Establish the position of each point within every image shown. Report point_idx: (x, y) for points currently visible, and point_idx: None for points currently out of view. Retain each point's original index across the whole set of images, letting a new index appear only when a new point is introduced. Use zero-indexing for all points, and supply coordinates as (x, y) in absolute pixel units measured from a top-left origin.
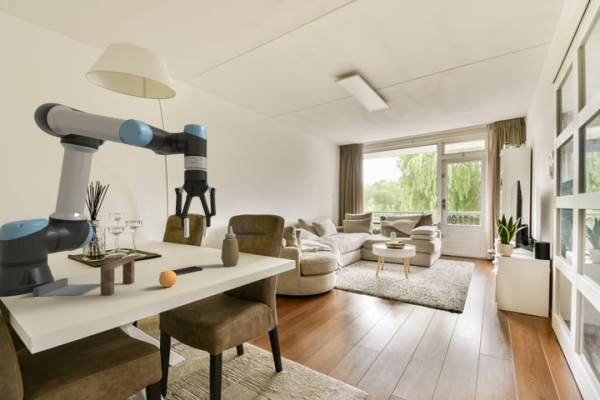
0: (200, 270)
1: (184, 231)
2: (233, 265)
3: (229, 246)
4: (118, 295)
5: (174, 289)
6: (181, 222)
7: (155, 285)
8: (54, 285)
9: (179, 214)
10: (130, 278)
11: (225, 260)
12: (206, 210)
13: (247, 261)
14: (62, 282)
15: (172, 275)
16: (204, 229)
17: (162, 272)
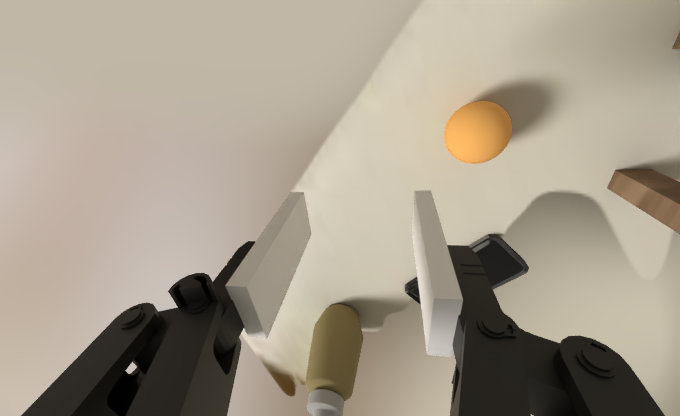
0: (409, 282)
1: (435, 214)
2: (329, 306)
3: (327, 355)
4: (649, 17)
5: (436, 92)
6: (486, 280)
7: (518, 144)
8: None
9: (557, 373)
10: (634, 177)
11: (346, 317)
12: (160, 375)
13: (310, 338)
14: None
15: (458, 123)
16: (280, 220)
17: (524, 270)
